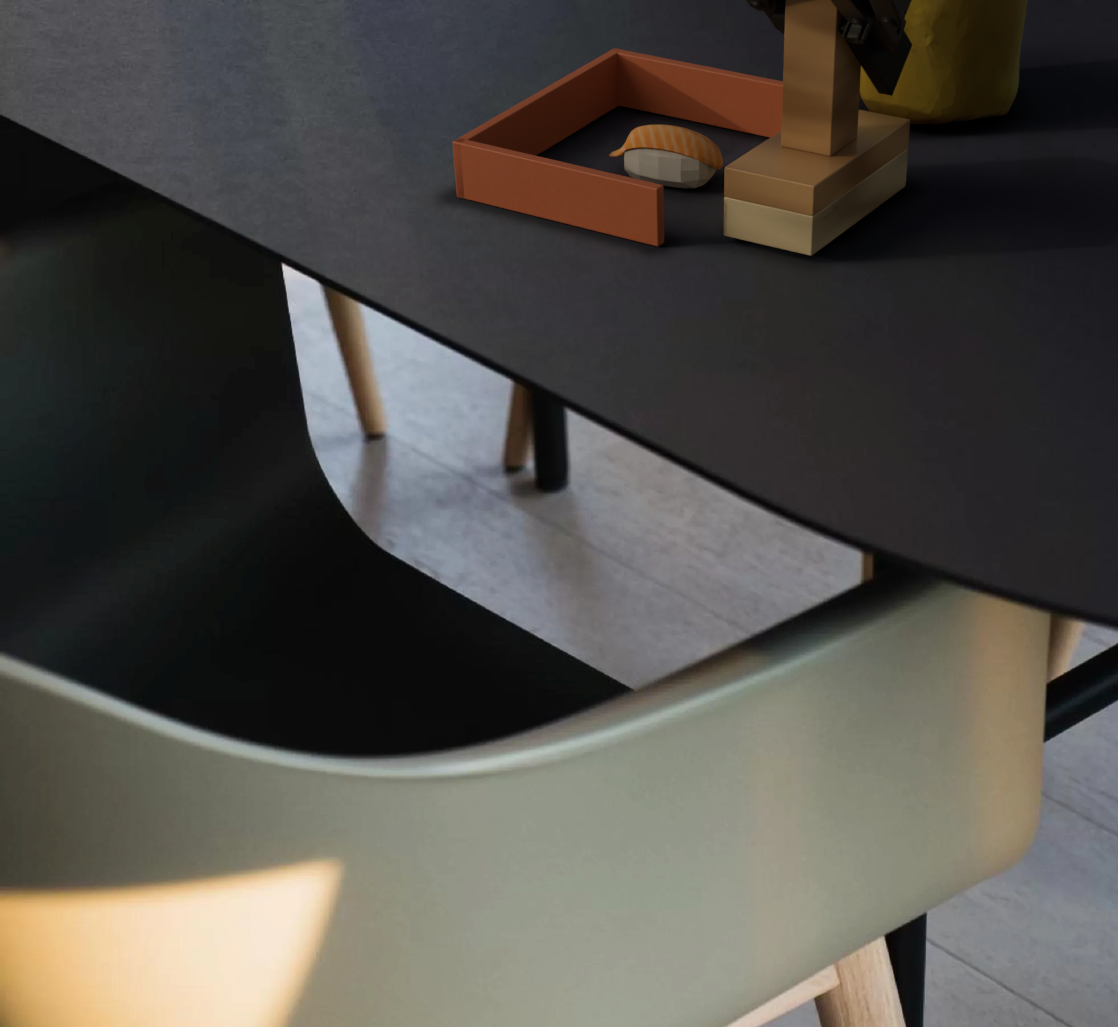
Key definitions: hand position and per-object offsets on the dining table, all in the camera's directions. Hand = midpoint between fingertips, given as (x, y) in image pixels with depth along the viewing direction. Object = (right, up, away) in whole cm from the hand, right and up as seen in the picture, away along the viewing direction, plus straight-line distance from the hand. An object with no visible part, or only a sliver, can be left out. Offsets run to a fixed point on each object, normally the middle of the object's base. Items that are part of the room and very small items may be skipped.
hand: (863, 62), depth 103 cm
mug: (+6, +3, +13) cm, 15 cm away
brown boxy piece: (-2, -7, +1) cm, 7 cm away
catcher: (-11, -3, +7) cm, 13 cm away
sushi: (-10, -4, +6) cm, 12 cm away
